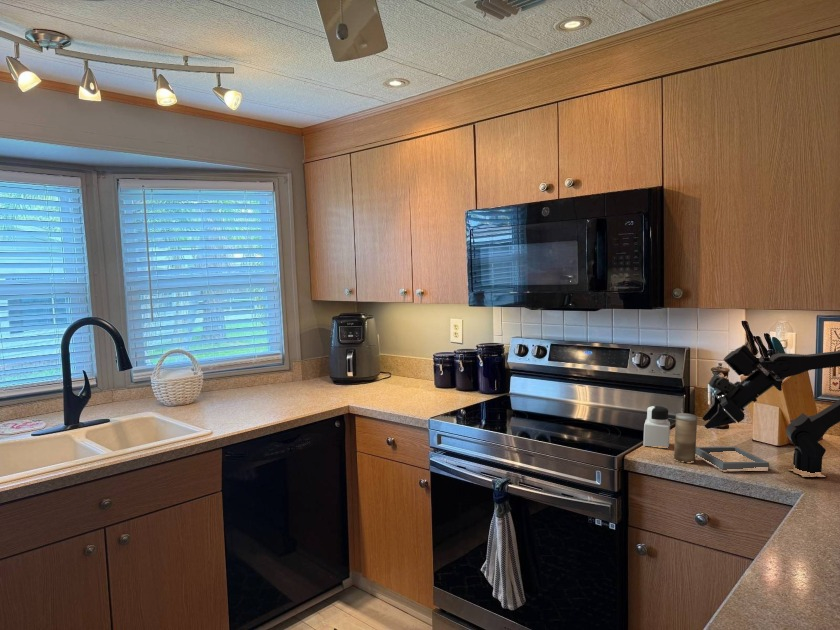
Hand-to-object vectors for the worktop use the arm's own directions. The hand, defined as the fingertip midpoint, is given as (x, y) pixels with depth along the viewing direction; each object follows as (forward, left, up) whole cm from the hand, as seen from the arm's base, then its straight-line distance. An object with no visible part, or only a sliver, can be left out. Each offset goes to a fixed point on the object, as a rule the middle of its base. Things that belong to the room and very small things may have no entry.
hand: (704, 423), depth 167 cm
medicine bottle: (+17, +5, -11) cm, 21 cm away
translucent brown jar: (+2, +4, -11) cm, 12 cm away
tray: (-1, -7, -11) cm, 13 cm away
